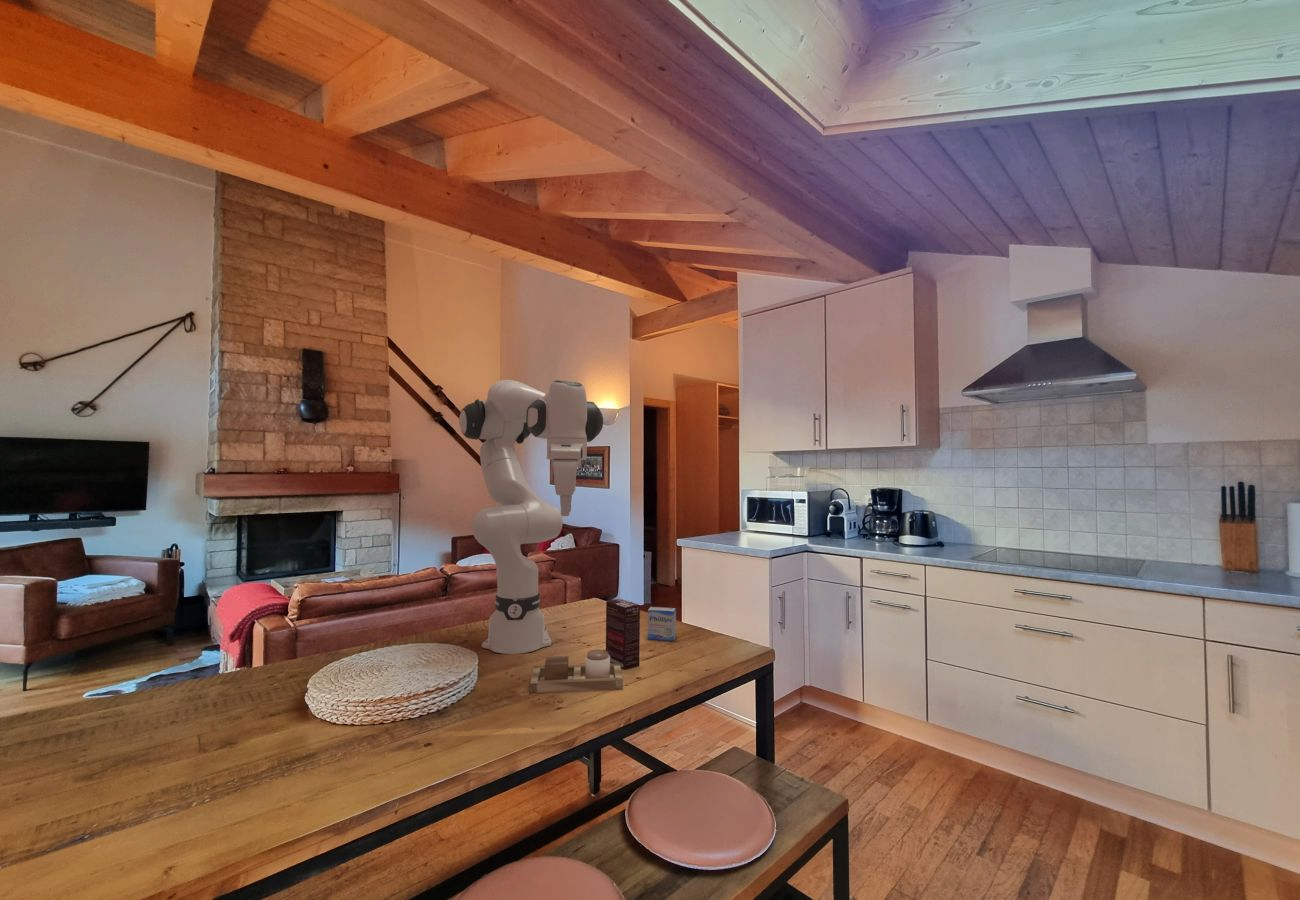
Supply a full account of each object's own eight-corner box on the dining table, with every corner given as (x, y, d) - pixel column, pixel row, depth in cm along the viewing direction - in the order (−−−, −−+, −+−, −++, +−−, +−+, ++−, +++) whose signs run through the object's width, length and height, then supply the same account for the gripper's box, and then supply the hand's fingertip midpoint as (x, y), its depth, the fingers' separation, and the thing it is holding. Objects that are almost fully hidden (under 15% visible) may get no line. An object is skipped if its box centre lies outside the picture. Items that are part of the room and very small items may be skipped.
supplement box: (640, 669, 130) (641, 604, 130) (624, 674, 127) (625, 607, 127) (619, 659, 136) (620, 597, 137) (604, 663, 133) (605, 600, 134)
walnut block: (546, 678, 121) (546, 656, 121) (568, 677, 122) (568, 655, 122) (544, 687, 116) (544, 664, 116) (567, 686, 117) (567, 663, 117)
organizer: (534, 679, 123) (534, 666, 123) (619, 676, 125) (619, 663, 126) (529, 697, 113) (529, 683, 113) (622, 693, 115) (622, 680, 116)
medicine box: (647, 640, 152) (647, 609, 153) (649, 635, 157) (650, 605, 157) (674, 641, 151) (674, 611, 151) (676, 637, 155) (676, 607, 156)
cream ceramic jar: (585, 676, 122) (585, 649, 123) (609, 675, 123) (609, 648, 123) (585, 686, 117) (585, 657, 117) (610, 685, 117) (610, 656, 118)
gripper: (555, 453, 128) (554, 510, 127) (549, 450, 108) (548, 518, 107) (581, 453, 129) (580, 510, 128) (580, 450, 108) (579, 518, 108)
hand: (566, 514), depth 117 cm, fingers open, 8 cm apart
